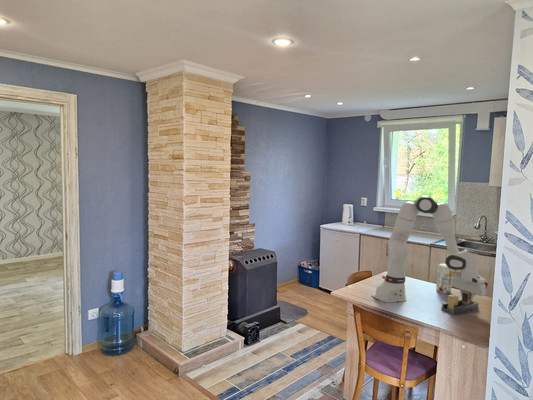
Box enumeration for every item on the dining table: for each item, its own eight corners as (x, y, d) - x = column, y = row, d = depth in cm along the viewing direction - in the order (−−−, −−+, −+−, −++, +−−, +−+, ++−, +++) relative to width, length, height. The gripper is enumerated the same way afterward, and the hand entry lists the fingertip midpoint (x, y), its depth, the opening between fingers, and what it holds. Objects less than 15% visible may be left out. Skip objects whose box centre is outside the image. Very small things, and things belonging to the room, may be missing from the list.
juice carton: (445, 294, 250) (448, 267, 248) (434, 290, 257) (436, 264, 255) (452, 292, 253) (454, 265, 252) (441, 288, 261) (443, 262, 259)
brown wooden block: (465, 302, 228) (466, 289, 228) (471, 304, 225) (473, 291, 224) (460, 303, 226) (462, 290, 225) (466, 305, 223) (468, 292, 222)
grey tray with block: (454, 315, 214) (455, 299, 213) (441, 309, 222) (442, 294, 221) (478, 309, 224) (479, 294, 223) (464, 304, 232) (466, 289, 231)
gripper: (450, 272, 232) (448, 293, 233) (481, 281, 213) (479, 304, 215) (457, 271, 235) (455, 291, 236) (488, 280, 216) (486, 303, 218)
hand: (467, 298), depth 225 cm, fingers closed on brown wooden block, 4 cm apart
